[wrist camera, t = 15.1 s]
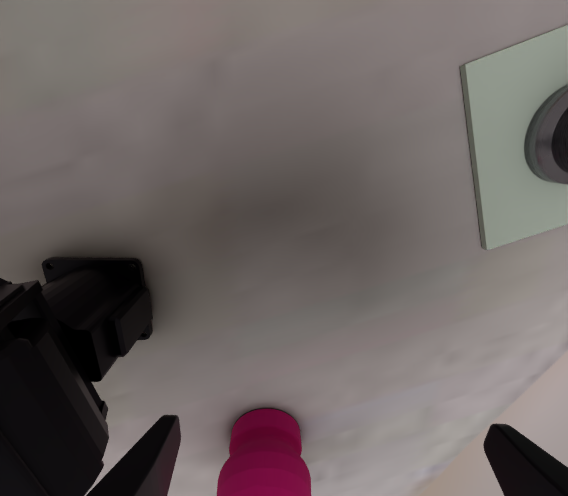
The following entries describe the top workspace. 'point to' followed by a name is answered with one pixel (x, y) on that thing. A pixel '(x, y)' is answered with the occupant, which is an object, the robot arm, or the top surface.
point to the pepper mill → (265, 457)
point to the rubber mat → (513, 137)
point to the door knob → (549, 139)
